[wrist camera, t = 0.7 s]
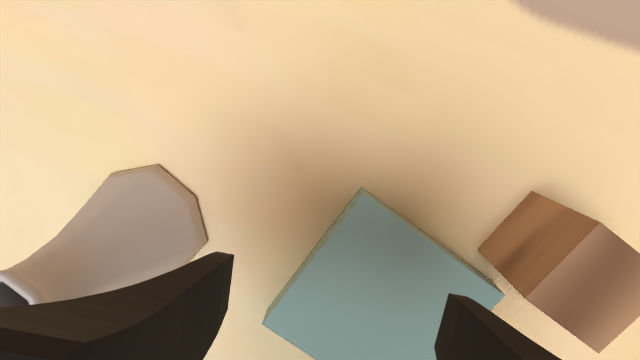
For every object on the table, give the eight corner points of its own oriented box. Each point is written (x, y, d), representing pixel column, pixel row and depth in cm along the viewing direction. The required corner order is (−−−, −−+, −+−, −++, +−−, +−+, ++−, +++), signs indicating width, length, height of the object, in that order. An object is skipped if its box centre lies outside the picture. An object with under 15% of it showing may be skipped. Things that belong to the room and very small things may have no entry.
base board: (493, 282, 21) (504, 295, 20) (391, 392, 23) (394, 411, 22) (361, 187, 21) (363, 194, 19) (266, 309, 23) (262, 324, 21)
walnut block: (588, 236, 21) (676, 282, 15) (533, 291, 22) (598, 353, 16) (530, 190, 20) (600, 222, 15) (477, 248, 21) (524, 298, 16)
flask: (228, 245, 22) (142, 357, 12) (135, 294, 23) (-14, 436, 13) (163, 143, 21) (10, 176, 11) (67, 199, 22) (-151, 277, 12)
